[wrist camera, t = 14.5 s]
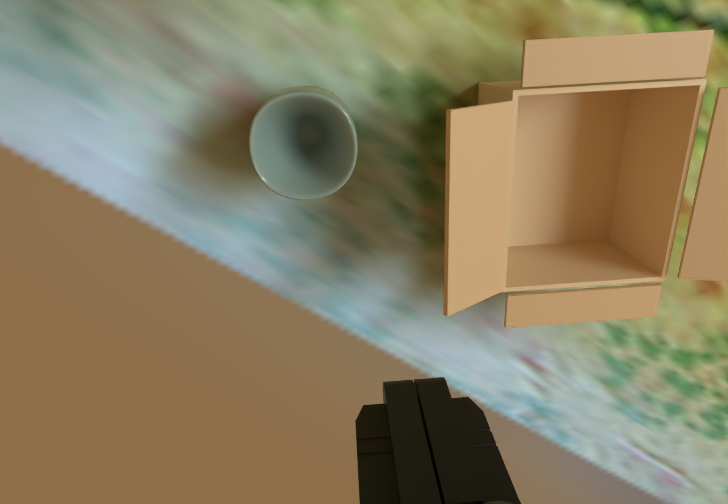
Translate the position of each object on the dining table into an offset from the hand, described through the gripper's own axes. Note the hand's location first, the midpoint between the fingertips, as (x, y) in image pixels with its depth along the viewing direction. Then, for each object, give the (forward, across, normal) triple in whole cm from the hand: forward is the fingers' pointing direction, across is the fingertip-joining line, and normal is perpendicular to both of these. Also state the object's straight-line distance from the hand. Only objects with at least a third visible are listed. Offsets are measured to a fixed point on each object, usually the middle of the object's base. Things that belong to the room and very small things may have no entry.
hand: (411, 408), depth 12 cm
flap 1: (+23, -8, +3) cm, 25 cm away
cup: (+35, +4, -2) cm, 35 cm away
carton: (+35, -18, +3) cm, 39 cm away
